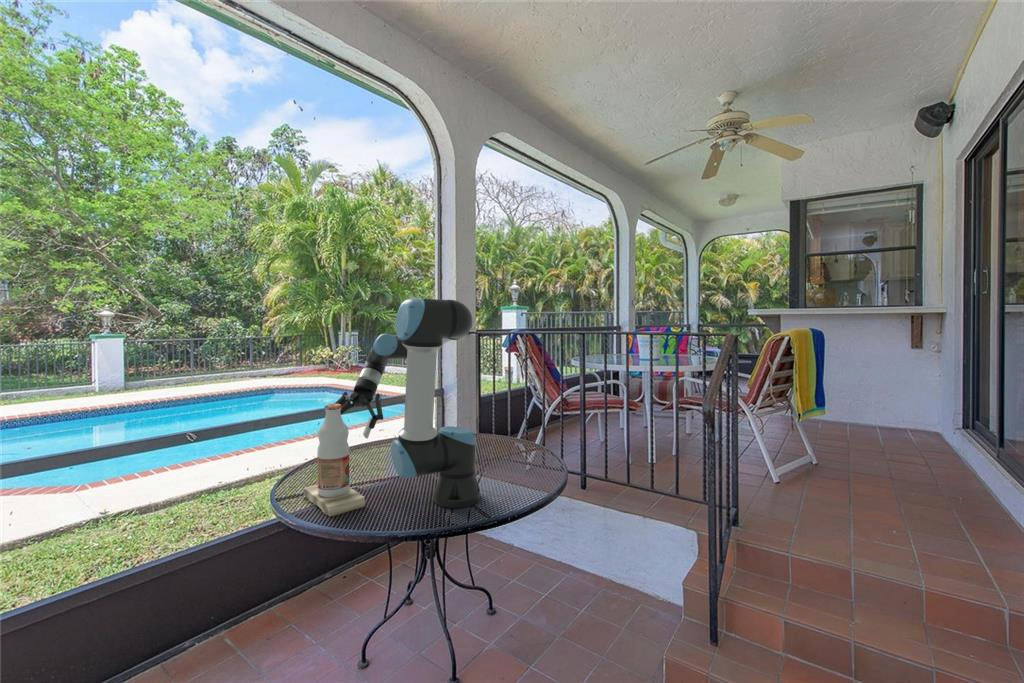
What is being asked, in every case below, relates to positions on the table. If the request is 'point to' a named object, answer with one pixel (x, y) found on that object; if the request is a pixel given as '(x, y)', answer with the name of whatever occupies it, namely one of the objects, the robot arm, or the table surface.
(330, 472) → the fruit juice
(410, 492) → the table surface
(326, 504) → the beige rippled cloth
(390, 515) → the table surface
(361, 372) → the robot arm
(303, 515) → the table surface
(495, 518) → the table surface
